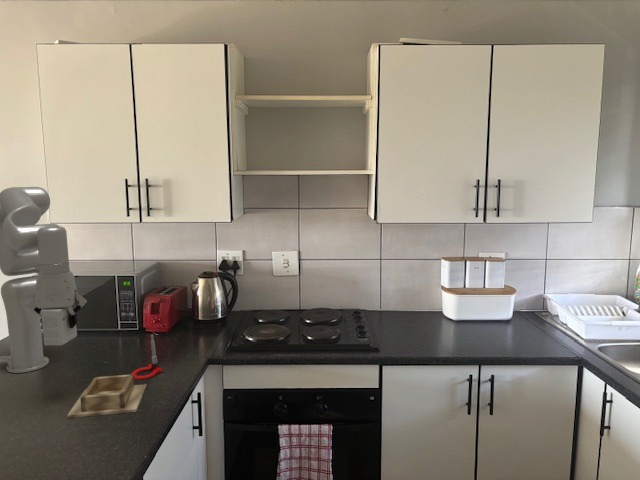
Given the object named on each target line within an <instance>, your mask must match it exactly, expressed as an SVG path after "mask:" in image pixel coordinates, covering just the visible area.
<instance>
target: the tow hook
mask: <svg viewBox="0 0 640 480" xmlns="http://www.w3.org/2000/svg"><path fill="white" fill-rule="evenodd" d="M150 346H151V348H150V349H151V363H150V364H148V365H147V366H143V367H139V368H137V369H134V370H133V371H132V372H131V373H130V374H134V381H135V380H136V381H142V380H143V381H144V380H148V379H151V378H153V377H155V376H156V375H157V374H159V373H163V371H164V369H163V368H162V367H160V364H159V362H158V355H157V354H156V353H157V352H156V345H155V340H154V334H150ZM145 371H152V372H151V373H149V374H146V375H138V374H139V373H141V372H145Z"/></svg>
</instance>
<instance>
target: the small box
mask: <svg viewBox="0 0 640 480" xmlns="http://www.w3.org/2000/svg"><path fill="white" fill-rule="evenodd" d="M41 315H42V318H41V326H42V325H43V326H42V332H43V342H44V346H63V345H65V344H66V343H68V342H70V341H71V340H73V339H75V338H77V336H78V331H77V330H78V327H77V324H76V325H75V326H74V327H73V328H70V326H69V315H70V312H69V311H68V309H67V307H66V308H48V309H44V310H42V311H41Z"/></svg>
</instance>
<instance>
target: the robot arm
mask: <svg viewBox="0 0 640 480" xmlns="http://www.w3.org/2000/svg"><path fill="white" fill-rule="evenodd" d="M50 206H51V197H50V195H49V193H48V191H47V190H45V188H43V187H39V186H17V187H16V186H13V187H8V188H5V189H3V190H2V191H0V271H1V273H2V274H3V276H7V277H16V276H23V275H28V276H24V277H18V278H12V279H9V280H6V281H5V282H4V283H2V285H1V287H0V295H1V299H2V301H3V305H4V309H5V310H4V311H5V313H6V314H5V315H6V322H7V323H6V324H7V331H8V333H7V334H8V342H9V349H10V354H9V355H0V364H7V365H6V371H7V372H9V373H12V374H23V373H24V374H25V373H29V372H33V371H38V370H40V369H42V368H44V367H46V366H47V365H48V364H49V363H50V359H49V357H48V356H44V348H43V337H42V327H43V325H42V324H41V319H42V315H41V311H42V310H44V309H48V308H66V307H67V309H68V311H69V312H70V315H69V326H70V328H73V327H74V326H75V325H76V326H77V324H78V318H77V315H78V314H77V313H78V312H79V311H80V310H81V308H83V306H85V305H86V304H87V302H88V300H87V299H86V298H85V297H84V296H82V294H81V295H80V293H78V290H77V283H76V279H75V277H74V273H73V271H70V270H71V269H70V259H69V246H68V234H67V230H66V228H65V227H63V226H60V225H59V224H58V223H43V224H40V223H39V221H40V220H41V217H42V216H43V215H44V214H46V213H47V212H48V210H49V209H50ZM38 223H39V224H38ZM32 274H37V275H32ZM29 275H30V276H29ZM31 275H32V276H31ZM77 302H79V303H78V304H77V305H76V303H77Z"/></svg>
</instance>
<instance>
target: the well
mask: <svg viewBox="0 0 640 480" xmlns="http://www.w3.org/2000/svg"><path fill="white" fill-rule="evenodd" d="M146 389H147V384H146V383H145V384H143V383H142V384H135V379H134V374H131V373H130V374H121V375H108V376H107V375H105V376H95V377H93V379H92V380H91V382H90V383H89V385H88V386H87V388H86V389H85V390H84V391H83V392H82V394H81V395H80V396H79V398H78V399H77V401H76V402H75V403H74V405H73V406H72V408H71V409H70V411H69V412H68V414H67V415H66V417H67V419H74V418H75V419H76V418H84V417H95V416H104V415H107V416H108V415H117V414H127V413H128V414H129V413H136V412H137V411H138V408H139V406H140V403H141V401H142V399H143V397H144V393H145V392H146Z"/></svg>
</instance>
